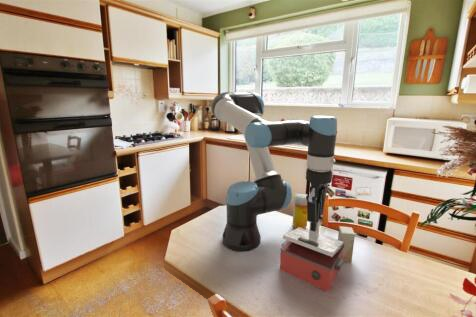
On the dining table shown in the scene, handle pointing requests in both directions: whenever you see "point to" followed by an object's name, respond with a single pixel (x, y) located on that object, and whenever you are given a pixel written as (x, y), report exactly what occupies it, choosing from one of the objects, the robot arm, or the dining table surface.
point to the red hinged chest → (310, 264)
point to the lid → (314, 241)
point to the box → (347, 242)
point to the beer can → (300, 211)
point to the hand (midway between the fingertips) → (313, 238)
